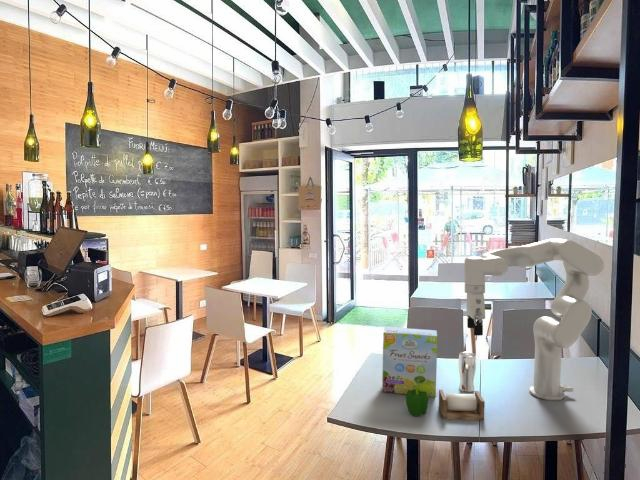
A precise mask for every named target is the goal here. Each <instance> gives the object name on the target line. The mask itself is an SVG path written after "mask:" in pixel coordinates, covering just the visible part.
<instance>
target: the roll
mask: <svg viewBox="0 0 640 480" xmlns="http://www.w3.org/2000/svg"><path fill="white" fill-rule="evenodd" d="M445 397H446V400H447V410H451V411H476V408H477V403H476V397H475V393H450V392H446V393H445Z"/></svg>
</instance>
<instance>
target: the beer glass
mask: <svg viewBox="0 0 640 480" xmlns="http://www.w3.org/2000/svg"><path fill="white" fill-rule="evenodd" d="M457 365H458V373H459V387H458V389H459V391H461V392H464V393H474V392H475V385H474V379H475V375H476V372H477V371H476V370H477V354H476V353H473V352H470V351H460V352H459V355H458V364H457Z"/></svg>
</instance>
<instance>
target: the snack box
mask: <svg viewBox="0 0 640 480" xmlns="http://www.w3.org/2000/svg"><path fill="white" fill-rule="evenodd" d="M437 361H438V331H437V329H436V330H435V329H434V330H433V329H423V328H422V329H421V328H406V327H391V326H384V331H383V342H382V375H381V377H382V379H381V380H382V383H381V384H382V393H391V394H399V395H406V394H407V392H408V390H414V389H415V387H413V385H416V386H417V388H418V390H420V391H421V392H422V391H425V392H426V393H427V395H428V398H429V397H430V398H436V396H437V393H436V392H437V390H436V389H437V369H438V368H437V366H438V365H437V364H438V362H437Z"/></svg>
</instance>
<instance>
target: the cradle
mask: <svg viewBox="0 0 640 480" xmlns="http://www.w3.org/2000/svg"><path fill="white" fill-rule="evenodd" d="M474 395H475V397H476V403H477V408H476V411H451V410H447V400H446V397H445V396H446V394H445V393H444V391H443V389H438V408H439V409H438V410H439V412H440V414H441V417H442V419H444V420H460V421H461V420H466V421H485V400H484V398H483V396H482V395H481V393H480V391H479V390H474Z"/></svg>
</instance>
